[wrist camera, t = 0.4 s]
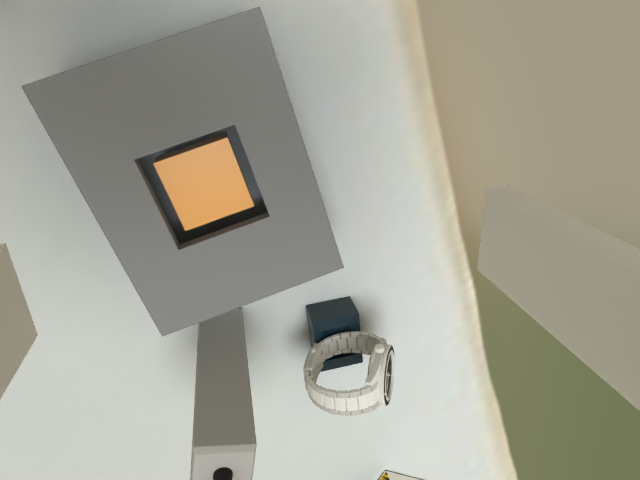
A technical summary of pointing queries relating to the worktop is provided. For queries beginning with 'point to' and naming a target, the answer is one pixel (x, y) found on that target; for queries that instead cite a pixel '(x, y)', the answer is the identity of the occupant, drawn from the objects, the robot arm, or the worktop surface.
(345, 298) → the watch
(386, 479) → the medicine bottle
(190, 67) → the grey box with hole
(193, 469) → the grey rectangular bar
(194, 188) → the button
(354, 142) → the worktop surface
